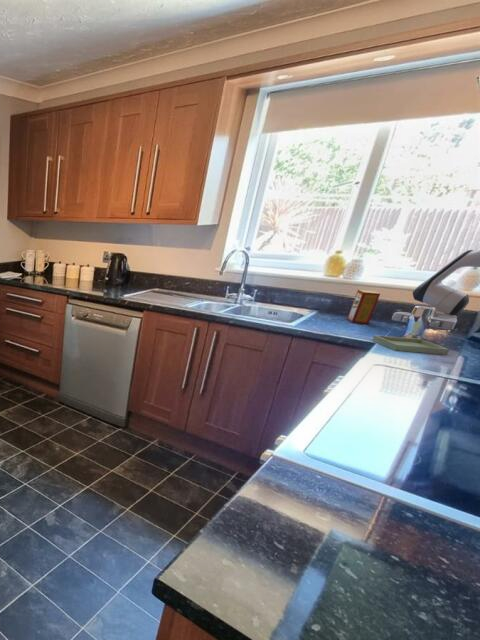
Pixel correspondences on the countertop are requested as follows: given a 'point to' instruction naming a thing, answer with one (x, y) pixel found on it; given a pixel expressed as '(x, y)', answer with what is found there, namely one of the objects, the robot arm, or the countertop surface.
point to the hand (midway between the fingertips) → (418, 322)
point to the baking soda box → (363, 306)
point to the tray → (410, 344)
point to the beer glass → (419, 321)
